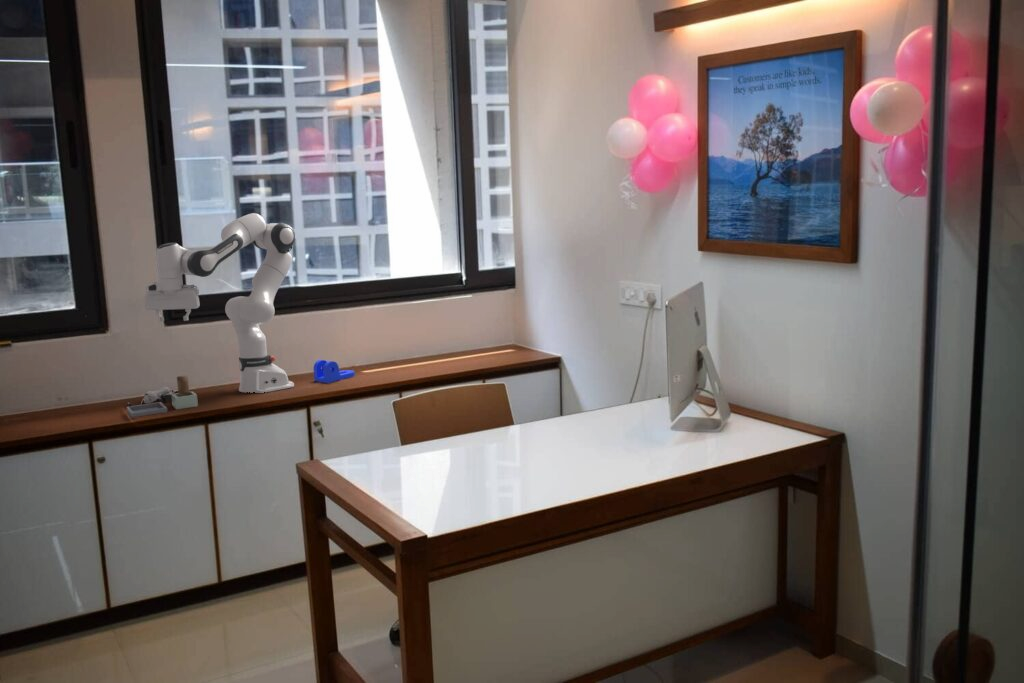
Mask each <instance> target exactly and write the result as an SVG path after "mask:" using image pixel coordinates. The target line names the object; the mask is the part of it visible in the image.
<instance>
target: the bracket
mask: <svg viewBox="0 0 1024 683" xmlns="http://www.w3.org/2000/svg"><path fill="white" fill-rule="evenodd" d="M355 375H356V374H355V370H349V369H347V370H345V369H344V370H343V369H342V370H340V366H339V364H338V363H337V362H336V361H332V360H328V361H327V360H324V359H318V360H317V361H315V363H314V364H313V377H314V378H313V379H314V382H315V381H318V382H317V383H322V382H324V383H323V384H330V383H329V382H331V383H334V382H333V381H335V382H338V381H337V380H339V381H342V380H341V379H343V380H346V379H345V378H347V379H350V377H351V378H353V376H354V377H355Z"/></svg>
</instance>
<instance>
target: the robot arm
mask: <svg viewBox="0 0 1024 683" xmlns="http://www.w3.org/2000/svg"><path fill="white" fill-rule="evenodd" d="M295 234H296V233H295V230H294V229H293V227H292V226H291V225H289V224H287V223H283V222H281V223H276V222H271V223H266V221H265V219H264V218H263V217H262V216H261V215H260V214H259V213H255V212H252V213H248V214H246V215H243V216H241V217H238V218H236V219H235V220H232V221H231V222H229V223H228V224H226V225H225V226H224V227H223V228H222V229H221V232H220V237H221V238H220V239H221V241H220V242H218V243H217V244H216V245H214V246H213V247H211V248H209V249H206V250H203V249H202V250H193V249H192V250H191V249H188V248H186V247H183V246H181V245H180V244H178V243H177V242H167V243H163V244H160V245H159V246H158V247H157V249H156V257H155V258H156V259H155V260H156V268H157V272H158V275H157V280H158V281H156V282H153V283H151V284H147V285H146V286H145V290H146V293H145V295H144V308H145V310H147V311H154V314H155V315H156V316H157V317H158V322H159V323H160V322H165V317H164V316H163V315H161V311H166V310H167V311H168V310H185V312H186V314H185V315H183V316H182V319H183V321H184V322H186V321H187V322H188V321H189V315H190V314H191V312H192V310H194V309H195V310H196V309H198V308H200V306H201V305H200V304H201V303H200V297H199V294H200V293H199V287H198V286H196V285H195V284H184V283H183V275H186V276H187V275H189V276H196V277H200V278H201V277H202V278H206V277H209V276H210V275H212V274H213V272H214V271H215V270H216V269H217V267H218V266H219V265H220V264H221V263H223V262H224V261H226V259H228V258H229V257H231V256H233V255H234V254H235V253H236V252H238V251H239V250H241V249H243V248H244V247H247V246H248V245H250V244H253V246H255V248H258V249H260V250H266V255H265V257H264V260H263V261H262V262H261V264H260V266H259V267H258V269H257V270H256V272H255V274H254V276H253V277H252V278H251V279H252V280H251V284H252V290H251V292H250V294H249V295H248V296H242V295H240V296H239V295H238V296H235V297H232V298H230V299H229V300H228V301H227V302H226V304H225V306H224V307H225V308H224V311H225V314H226V316H227V317H228V319H229V320H230V321H231V323H232V325H233V328H234V331H235V333H236V337H237V341H238V350H239V352H238V353H239V357H238V366H239V370H240V378H239V380H240V382H239V387H238V391H239V392H241V393H247V392H248V394H250V393H251V394H253V392H255V393H256V394H263V393H264V392H265V393H269V392H276V391H279V390H280V391H281V390H285V389H291V388H293V387H295V383H294V381H292V380H289V378H288V375H287V372H286V371H285V370H284V369H282V368H281V367H279V366H278V365H276V364H274V363H273V362H276V359H277V358H276V357H275V356H274V355H269V354H268V349H267V348H268V347H267V338H266V335H265V334H264V332H262V330H261V327H260V325H264V324H267V323H269V322H271V321H273V319H274V317H275V313H276V312H275V306H274V301H275V297H276V294H277V292H278V290H279V288H280V287H281V284H282V283H283V281H284V279H285V278H286V276H287V274H288V272H289V270H290V267H291V264H292V261H293V256H292V254H291V253H290V252H291V251H292V249H293V245H294V243H295V240H296V235H295ZM249 392H250V393H249ZM255 393H254V394H255Z"/></svg>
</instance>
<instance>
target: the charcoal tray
mask: <svg viewBox="0 0 1024 683" xmlns="http://www.w3.org/2000/svg"><path fill="white" fill-rule="evenodd" d="M127 413H128V414H127ZM163 413H168V407H167V406H166V405H165V404H164V403H162V401H159V402H158V401H157V402H151V403H145V404H138V405H136V406H130V405H129V406H126V414H127V415H128V416H129V418H130V417H131V418H130V419H131V421H133V419H135V418H137V417H144V416H149V415H157V414H163Z"/></svg>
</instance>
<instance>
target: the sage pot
mask: <svg viewBox="0 0 1024 683" xmlns="http://www.w3.org/2000/svg"><path fill="white" fill-rule="evenodd" d="M189 394H190V395H188V396H181V397H179V394H178V393H176V394H171V396H172V401H171V404H172V406H173V408H174V409H175V410H182V409H189V408H196V407H199V402H198V394H196V392H194V391H193V390H192V391H190V390H189Z"/></svg>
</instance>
